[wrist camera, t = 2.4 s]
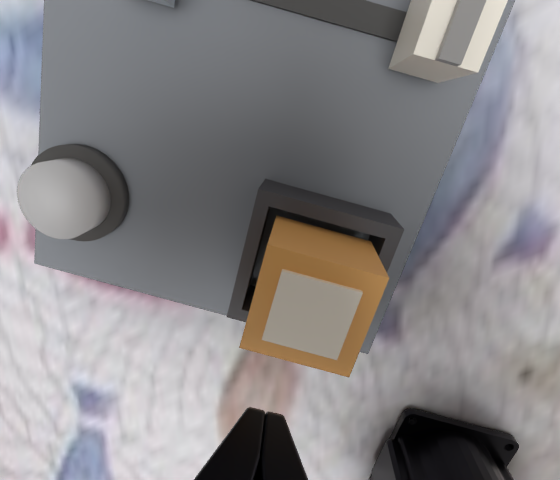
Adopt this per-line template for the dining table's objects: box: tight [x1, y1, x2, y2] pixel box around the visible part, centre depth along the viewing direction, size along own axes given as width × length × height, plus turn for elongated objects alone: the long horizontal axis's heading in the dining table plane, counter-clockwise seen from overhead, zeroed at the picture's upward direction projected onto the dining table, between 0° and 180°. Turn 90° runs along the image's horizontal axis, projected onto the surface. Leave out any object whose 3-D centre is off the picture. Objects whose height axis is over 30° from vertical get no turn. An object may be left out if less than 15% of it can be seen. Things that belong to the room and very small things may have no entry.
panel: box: [17, 0, 515, 354], centre depth 14 cm, size 16×16×4 cm
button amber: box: [239, 215, 389, 377], centre depth 12 cm, size 4×4×3 cm
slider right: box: [388, 0, 508, 83], centre depth 11 cm, size 2×3×4 cm, turn 165°
